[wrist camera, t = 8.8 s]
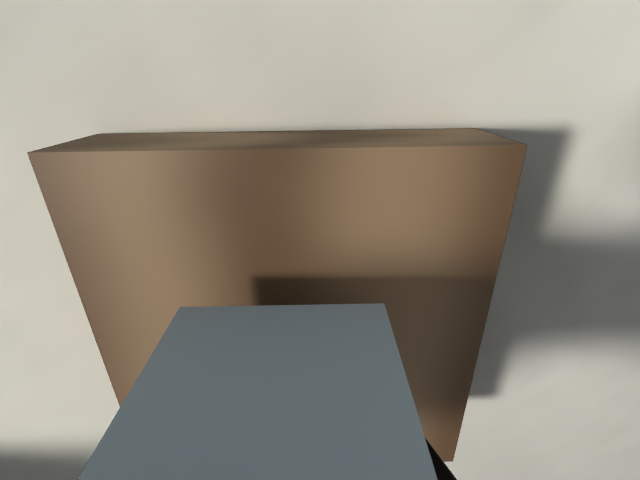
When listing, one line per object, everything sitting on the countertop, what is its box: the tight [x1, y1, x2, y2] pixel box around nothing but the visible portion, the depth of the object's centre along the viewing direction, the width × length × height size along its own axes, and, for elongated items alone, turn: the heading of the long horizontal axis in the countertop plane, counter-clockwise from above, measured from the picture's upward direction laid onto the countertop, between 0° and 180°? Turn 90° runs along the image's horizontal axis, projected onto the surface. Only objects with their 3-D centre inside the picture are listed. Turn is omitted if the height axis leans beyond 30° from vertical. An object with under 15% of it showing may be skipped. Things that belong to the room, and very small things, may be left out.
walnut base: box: [28, 128, 527, 461], centre depth 12 cm, size 12×12×3 cm
